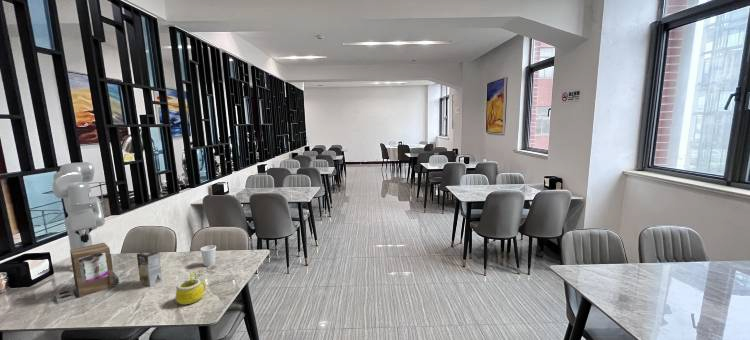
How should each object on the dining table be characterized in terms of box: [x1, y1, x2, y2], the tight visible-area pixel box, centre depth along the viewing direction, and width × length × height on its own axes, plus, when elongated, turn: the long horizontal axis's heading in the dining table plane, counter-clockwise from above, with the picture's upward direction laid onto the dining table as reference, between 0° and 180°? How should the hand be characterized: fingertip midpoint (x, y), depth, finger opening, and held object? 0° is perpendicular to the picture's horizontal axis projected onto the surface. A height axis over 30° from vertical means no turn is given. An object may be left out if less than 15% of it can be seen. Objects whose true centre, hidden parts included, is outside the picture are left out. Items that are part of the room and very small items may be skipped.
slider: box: [73, 253, 120, 296], centre depth 166 cm, size 19×16×12 cm
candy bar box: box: [79, 253, 108, 283], centre depth 162 cm, size 11×5×16 cm, turn 168°
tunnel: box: [69, 242, 115, 298], centre depth 161 cm, size 13×13×21 cm
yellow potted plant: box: [175, 269, 207, 305], centre depth 148 cm, size 13×11×12 cm
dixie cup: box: [199, 245, 217, 267], centre depth 188 cm, size 8×8×10 cm
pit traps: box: [54, 288, 76, 305], centre depth 154 cm, size 12×6×1 cm, turn 49°
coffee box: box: [136, 249, 163, 287], centre depth 166 cm, size 9×6×16 cm
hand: (85, 242), depth 168 cm, fingers closed
